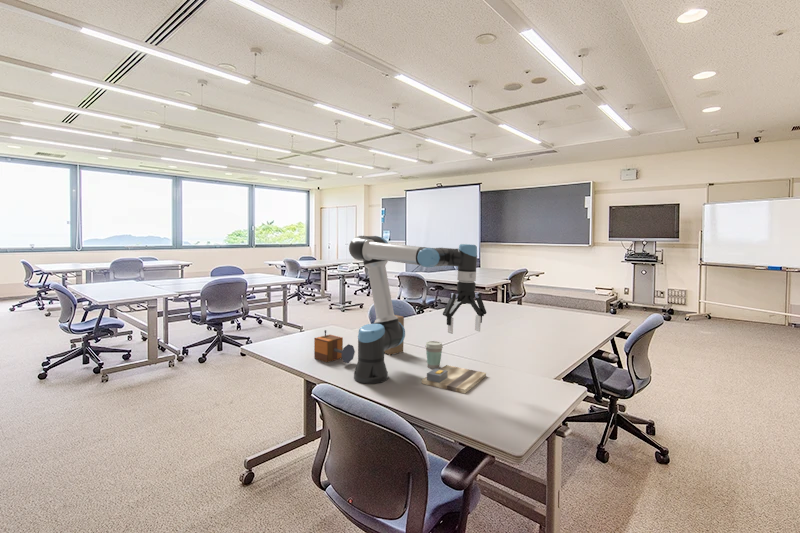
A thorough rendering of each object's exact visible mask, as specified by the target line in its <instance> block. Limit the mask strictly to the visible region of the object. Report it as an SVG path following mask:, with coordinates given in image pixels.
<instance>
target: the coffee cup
mask: <svg viewBox="0 0 800 533" xmlns="http://www.w3.org/2000/svg"><path fill="white" fill-rule="evenodd" d="M425 343H426V344H425V346H424V347H425V351H426V363H427V364H426V365H427V368H428V369H431V370H433V369H435V368H436V369H440V367H441V360H442V352H443V348H444V345H443V344H442V342H440V341H437V340H429V341H427V342H425Z"/></svg>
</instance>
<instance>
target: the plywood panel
mask: <svg viewBox="0 0 800 533" xmlns="http://www.w3.org/2000/svg"><path fill="white" fill-rule="evenodd" d="M440 369H441V370H446V371H448V375H447V378H446V379H444V380H443V381H441V382H440V383H438V382H433V381H429V380H427V376H426V377H424V378H422V379H421V384H423V385H427V386H431V387H435V388H439V389H444V390H448V391H452V392H456V393H461V394H467V392H468V391H470V390H471V389H472V388H474V387H475V386H476V385H477V384H479V383H480V382H481V381H482V380H483V379H485V378H486V376H487V372H483V371H479V370H474V369H470V368H469V369H468V368H463V367H460V366H459V367H458V366H453V365H448V364H446V365H444V366H442V367H441V368H440Z"/></svg>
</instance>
